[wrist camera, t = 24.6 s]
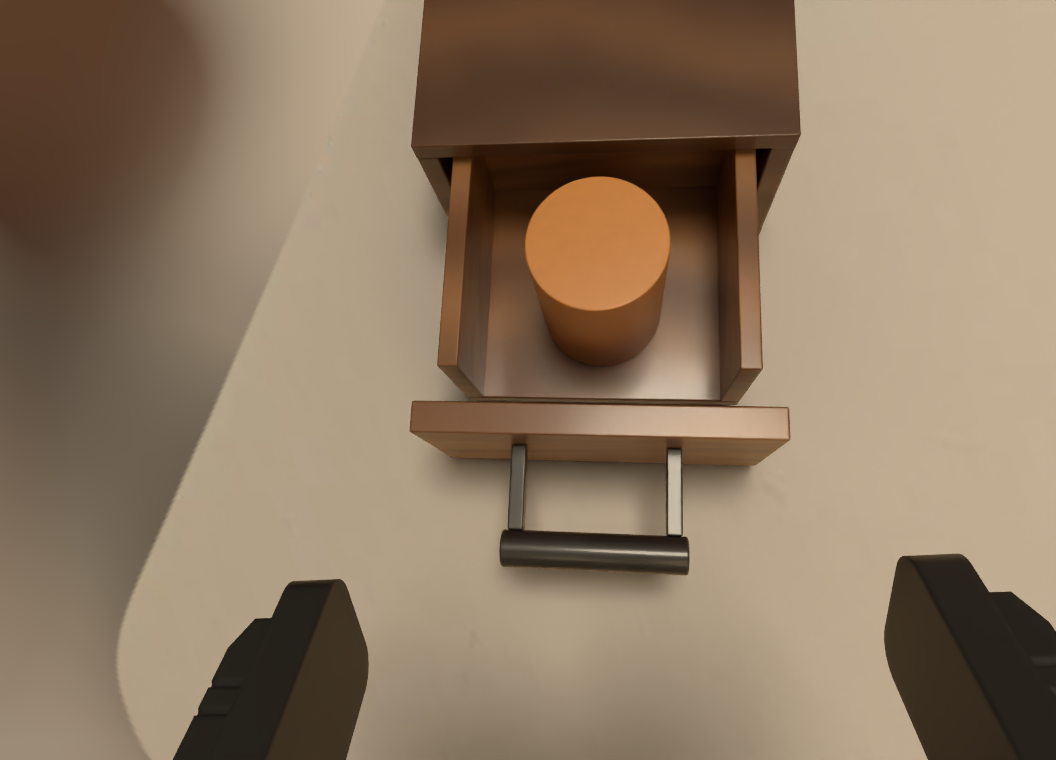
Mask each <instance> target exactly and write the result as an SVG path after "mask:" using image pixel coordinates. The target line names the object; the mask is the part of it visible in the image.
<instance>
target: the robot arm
mask: <svg viewBox="0 0 1056 760" xmlns="http://www.w3.org/2000/svg"><path fill="white" fill-rule="evenodd" d="M884 642H885V651H886V657H887V661H888V665H889V669H890V672H891V675H892V677H893V680H894V682H895V684H896V687H897V689H898V691H899V694H900V696H901V698H902V701H903V703H904V705H905V707H906V710H907V712H908V714H909V717H910V719H911V721H912V724H913V726H914V728H915V731H916V733H917V735H918V738H919V740H920V742H921V745H922V747H923V749H924V752H925V754H926V756H927V759H928V760H1056V631H1055V630H1054V628H1053V627H1052V625H1051V624H1050V623H1049V622H1048V621H1047V620H1046V619H1045V618H1043V617H1042V616H1041V615H1040V614H1038V613H1037V612H1036V611H1035V610H1033V609H1032V608H1031V607H1030V606H1028V605H1027V604H1026V603H1025V602H1023V601H1022V600H1021V599H1019V598H1018V597H1017V596H1016V595H1014V594H1013V593H1012V592H989V591H988V589H987V588H986V586H985V585H984V583H983V582H982V580H981V578H980V577H979V575H978V574H977V572H976V571H975V569H974V567H973V566H972V564H971V563H970V562H969V560H968V559H967V558H966V557H965V556H963V555H961V554H941V555H918V556H902V557H900V559H899V560H898V562H897V566H896V571H895V576H894V581H893V587H892V592H891V598H890V603H889V608H888V614H887V619H886V624H885V631H884ZM368 666H369V662H368V651H367V646H366V642H365V639H364V636H363V633H362V630H361V627H360V625H359V622H358V619H357V616H356V613H355V610H354V607H353V604H352V601H351V598H350V595H349V592H348V589H347V587H346V584H345V583H344V582H343V581H342V580H341V579H333V580H310V581H292V582H290V583H289V584H288V585H287V586H286V588H285V590H284V591H283V594H282V596H281V598H280V600H279V602H278V605H277V607H276V609H275V611H274V613H273V616H272V618H262V619H255V620H254V621H253V622H252V623H251V624H250V625H249V626H248V627H247V628H246V629H245V630H244V631H243V633H242V634H241V635H240V636H239V637H238V638H237V639H236V640H235V641H234V642H233V643H232V644H231V645H230V646H229V647H228V649H227V651H226V653H225V655H224V657H223V659H222V661H221V663H220V665H219V667H218V669H217V671H216V673H215V675H214V677H213V679H212V686H211V688H208V690H207V692H206V694H205V696H204V698H203V700H202V702H201V704H200V706H199V708H198V715H197V716H194V718H193V720H192V722H191V724H190V726H189V728H188V730H187V732H186V734H185V736H184V738H183V740H182V742H181V744H180V746H179V748H178V750H177V752H176V754H175V756H174V758H173V760H346V757H347V753H348V750H349V746H350V743H351V739H352V736H353V732H354V729H355V725H356V722H357V718H358V714H359V711H360V707H361V704H362V700H363V697H364V693H365V690H366V685H367V679H368Z"/></svg>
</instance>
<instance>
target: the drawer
mask: <svg viewBox="0 0 1056 760" xmlns="http://www.w3.org/2000/svg"><path fill="white" fill-rule="evenodd" d="M601 176H602V177H612V178H617V179H621V180H624V181H627V182H630V183H632V184H634V185H636V186H638V187H639V188H641V189H642V190H644V191H645V192H646V193H648V194H649V195H650V196H651V197H652V198H653V199H654V200H655V201H656V202H657V204H658V205H659V206H660V208H661V209H662V211H663V213H664V215H665V217H666V219H667V222H668V226H669V230H670V237H671V247H670V255H669V261H668V268H667V275H666V281H665V288H664V294H663V301H662V308H661V314H660V321H659V324H658V328H657V330H656V333H655V335H654V337H653V338H652V340H651V341H650V343H649V344H648V345H647V346H646V347H645V348H644V349H643V350H642V351H641V352H640V353H639V354H637V355H636V356H635V357H633V358H631V359H629V360H627V361H625V362H622V363H619V364H615V365H610V366H594V365H588V364H584V363H581V362H579V361H576V360H575V359H573V358H571V357H569V356H568V355H567V354H565V353H564V352H563V351H562V350H561V349H560V348H559V347H558V346H557V345H556V343H555V342H554V340H553V339H552V337H551V335H550V333H549V330H548V328H547V325H546V322H545V318H544V315H543V312H542V309H541V306H540V303H539V300H538V297H537V294H536V290H535V287H534V284H533V281H532V278H531V275H530V272H529V269H528V265H527V262H526V258H525V236H526V231H527V228H528V224H529V222H530V220H531V218H532V216H533V214H534V212H535V211H536V209H537V208H538V206H539V205H540V204H541V203H542V202H543V200H545V199H546V198H547V197H548V196H549V195H550V194H551V193H553V192H554V191H555V190H557V189H558V188H560V187H562V186H564V185H565V184H568V183H570V182H572V181H575V180H579V179H582V178H588V177H601ZM437 365H438V367H439V368H440V369H441V370H442V371H443V372H444V373H445V374H446V375H447V376H448V377H449V378H450V379H451V380H452V381H453V383H454V384H455V385H456V386H457V387H458V388H459V389H460V390H461V391H462V392H463V393H464V394H465V395H466V396H467V397H468V398H469V399H470V400H471V401H523V402H583V403H642V404H702V405H737V403H738V402H739V401H740V399H741V398H742V397H743V395H744V394H745V392H746V391H747V390H748V388H749V387H750V385H751V384H752V383H753V381H754V380H755V379H756V377H757V376H758V374H759V373H760V372H761V370H762V369H763V360H762V329H761V299H760V268H759V238H758V207H757V177H756V149H727V150H692V151H656V152H620V153H584V154H549V155H513V156H477V157H453V164H452V177H451V191H450V204H449V217H448V230H447V244H446V257H445V270H444V283H443V296H442V310H441V323H440V336H439V349H438V363H437ZM410 432H411V433H413V434H415V435H416V436H418V437H420V438H421V439H423V440H425V441H426V442H428V443H429V444H431V445H433V446H434V447H436V448H438V449H439V450H441V451H443V452H444V453H446V454H447V455H449V456H451V457H458V458H495V459H511V469H510V489H509V509H508V529H510V530H506V529H505V530H503V532H502V534H501V539H500V563H501V566H503V567H519V568H540V569H561V570H583V571H604V572H625V573H647V574H668V575H688V572H689V541H688V538H687V537H681V536H682V535H683V484H682V464H715V465H751V466H755V465H757V464H758V463H759V462H761V461H762V460H763V459H765V458H766V457H767V456H769V455H770V454H772V453H773V452H774V451H776V450H777V449H778V448H780V447H781V446H783V445H784V444H785V443H787V442H788V441H789V440H790V420H789V408H788V407H757V406H698V405H639V404H580V403H521V402H462V401H412V408H411V420H410ZM528 459H532V460H568V461H605V462H641V463H666V536H656V535H631V534H606V533H581V532H556V531H531V530H524V529H525V508H526V485H527V462H528Z"/></svg>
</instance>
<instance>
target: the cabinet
mask: <svg viewBox="0 0 1056 760" xmlns="http://www.w3.org/2000/svg"><path fill="white" fill-rule="evenodd" d="M800 135H801V130H800V110H799V90H798V69H797V49H796V29H795V8H794V0H424V11H423V22H422V33H421V44H420V55H419V66H418V77H417V88H416V99H415V110H414V121H413V132H412V143H411V147H412V149H413V151H414V153H415V155H416V157H417V158H418V160H419V162H420V164H421V166H422V168H423V170H424V172H425V174H426V176H427V178H428V180H429V182H430V183H431V185H432V187H433V189H434V191H435V193H436V195H437V197H438V199H439V201H440V203H441V205H442V207H443V209H444V211H445V213H446V215H447V217H449V204H450V191H451V177H452V164H453V157H477V156H513V155H549V154H584V153H620V152H656V151H692V150H727V149H756V177H757V207H758V236H759V234H760V231H761V229H762V225H763V223H764V221H765V218H766V216H767V213H768V211H769V209H770V206H771V204H772V201H773V199H774V197H775V194H776V192H777V189H778V187H779V184H780V182H781V180H782V177H783V175H784V172H785V170H786V168H787V165H788V163H789V160H790V158H791V156H792V153H793V151H794V148H795V147H796V144H797V142H798V140H799V137H800Z"/></svg>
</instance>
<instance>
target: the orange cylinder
mask: <svg viewBox="0 0 1056 760" xmlns="http://www.w3.org/2000/svg"><path fill="white" fill-rule="evenodd" d="M670 247H671V237H670V230H669V226H668V222H667V219H666V217H665V215H664V213H663V211H662V209H661V208H660V206H659V205H658V204H657V202H656V201H655V200H654V199H653V198H652V197H651V196H650V195H649V194H648V193H646V192H645V191H644V190H642V189H641V188H639V187H638V186H636V185H634V184H632V183H630V182H627V181H624V180H621V179H617V178H612V177H602V176H601V177H588V178H582V179H579V180H575V181H572V182H570V183H568V184H565V185H564V186H562V187H560V188H558V189H557V190H555V191H554V192H553V193H551V194H550V195H549V196H548V197H547V198H546V199H545V200H543V202H542V203H541V204H540V205H539V206H538V208H537V209H536V211H535V212H534V214H533V216H532V218H531V220H530V222H529V224H528V228H527V231H526V236H525V258H526V262H527V265H528V269H529V272H530V275H531V278H532V281H533V284H534V287H535V290H536V294H537V297H538V300H539V303H540V306H541V309H542V312H543V315H544V318H545V322H546V325H547V328H548V330H549V333H550V335H551V337H552V339H553V340H554V342H555V343H556V345H557V346H558V347H559V348H560V349H561V350H562V351H563V352H564V353H565V354H567V355H568V356H569V357H571V358H573V359H575V360H576V361H579V362H581V363H584V364H588V365H594V366H610V365H615V364H619V363H622V362H625V361H627V360H629V359H631V358H633V357H635V356H636V355H637V354H639V353H640V352H641V351H642V350H643V349H644V348H645V347H646V346H647V345H648V344H649V343H650V341H651V340H652V338H653V337H654V335H655V333H656V330H657V328H658V324H659V321H660V314H661V308H662V301H663V294H664V288H665V281H666V275H667V268H668V261H669V255H670Z"/></svg>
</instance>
